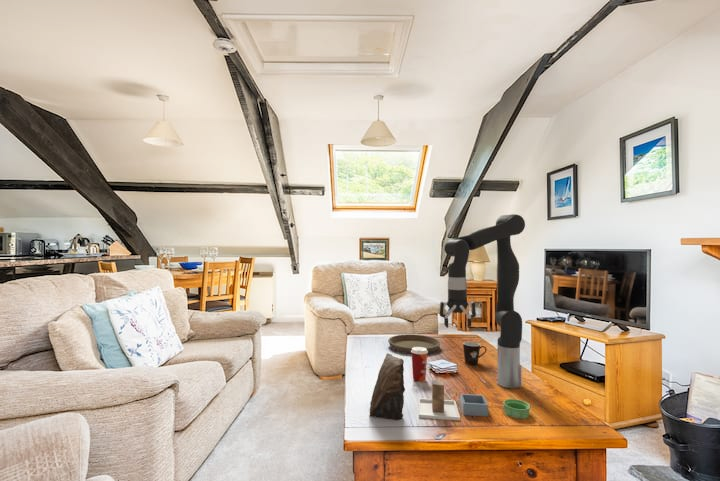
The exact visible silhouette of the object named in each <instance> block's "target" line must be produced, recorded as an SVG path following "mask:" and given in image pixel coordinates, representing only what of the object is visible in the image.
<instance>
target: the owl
mask: <svg viewBox="0 0 720 481" xmlns="http://www.w3.org/2000/svg"><path fill="white" fill-rule="evenodd" d="M404 363H405V360H404V359H403V358H400V357H396V356H393V354H391V353H386V354H385V358H383V362H382V364H381V366H380V369H379V371H378V375H377V380H376V381H375V382H376V383H375V385H374V388H373V392H372V396H371V400H370V405H369V406H370V407H369V417H371V418H377V419H386V420H393V421H400V420H403V418H404V414H403V408H404V404H405V398H404V397H405V396H404V392H405V391H406V387H405V385H404V384H405V381H404V379H405V378H404V371H405V368H404Z"/></svg>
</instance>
